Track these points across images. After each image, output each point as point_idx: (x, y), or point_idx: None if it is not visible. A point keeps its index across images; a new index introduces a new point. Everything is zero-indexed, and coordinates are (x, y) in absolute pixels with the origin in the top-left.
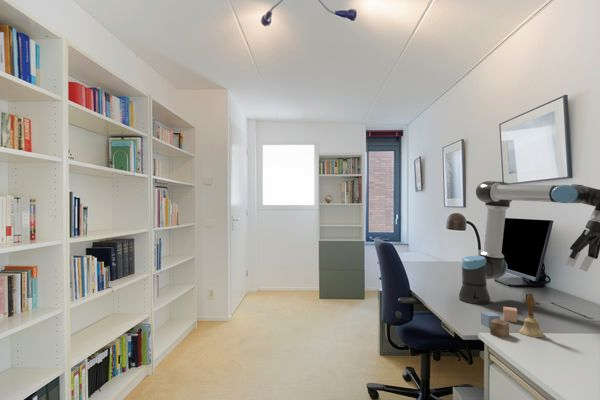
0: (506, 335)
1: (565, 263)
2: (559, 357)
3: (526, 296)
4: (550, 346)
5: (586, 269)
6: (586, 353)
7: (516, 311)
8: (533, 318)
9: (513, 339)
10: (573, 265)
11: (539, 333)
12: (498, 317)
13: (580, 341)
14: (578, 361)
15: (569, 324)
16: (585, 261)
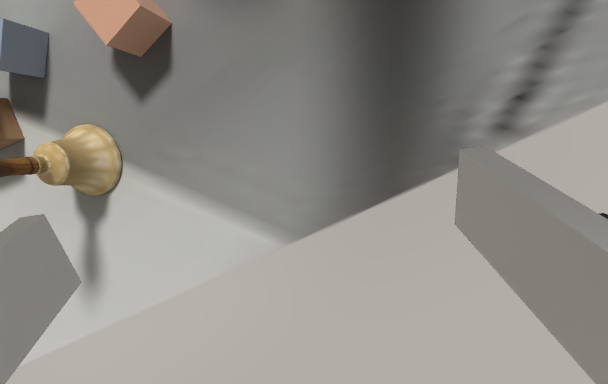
0: (3, 146)
1: (15, 223)
2: None
3: None
4: None
5: (467, 231)
6: (102, 310)
7: (106, 43)
8: (41, 173)
9: None
10: (58, 300)
11: (83, 189)
12: (2, 69)
13: (170, 261)
14: None
15: (310, 149)
16: (545, 243)
